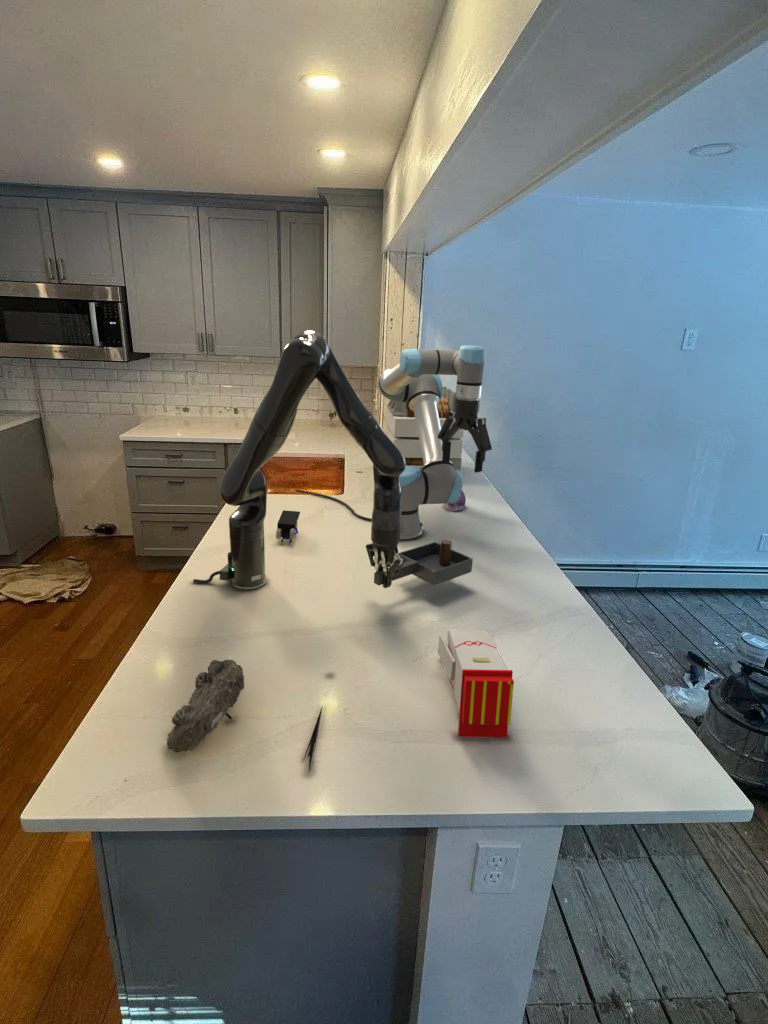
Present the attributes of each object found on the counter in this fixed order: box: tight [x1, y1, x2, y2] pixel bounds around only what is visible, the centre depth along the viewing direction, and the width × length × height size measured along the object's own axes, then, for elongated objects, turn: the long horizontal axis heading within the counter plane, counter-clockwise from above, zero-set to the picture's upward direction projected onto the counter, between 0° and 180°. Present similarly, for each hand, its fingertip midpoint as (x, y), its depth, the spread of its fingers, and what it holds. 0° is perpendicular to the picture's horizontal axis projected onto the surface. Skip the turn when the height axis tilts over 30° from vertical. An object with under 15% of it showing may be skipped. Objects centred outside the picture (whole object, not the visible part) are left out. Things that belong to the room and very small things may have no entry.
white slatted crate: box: [385, 386, 465, 472], centre depth 268 cm, size 34×33×41 cm
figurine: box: [444, 470, 467, 512], centre depth 226 cm, size 9×10×15 cm
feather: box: [301, 673, 332, 771], centre depth 108 cm, size 2×28×2 cm
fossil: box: [166, 658, 245, 754], centre depth 106 cm, size 22×10×15 cm
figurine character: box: [275, 509, 301, 544], centre depth 191 cm, size 7×8×15 cm
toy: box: [437, 628, 515, 738], centre depth 117 cm, size 12×13×30 cm
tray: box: [373, 541, 474, 587], centre depth 156 cm, size 29×15×4 cm, turn 130°
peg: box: [439, 538, 453, 566], centre depth 162 cm, size 3×3×7 cm
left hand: (383, 584), depth 149 cm, fingers closed on tray, 2 cm apart
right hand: (461, 466), depth 179 cm, fingers open, 13 cm apart
